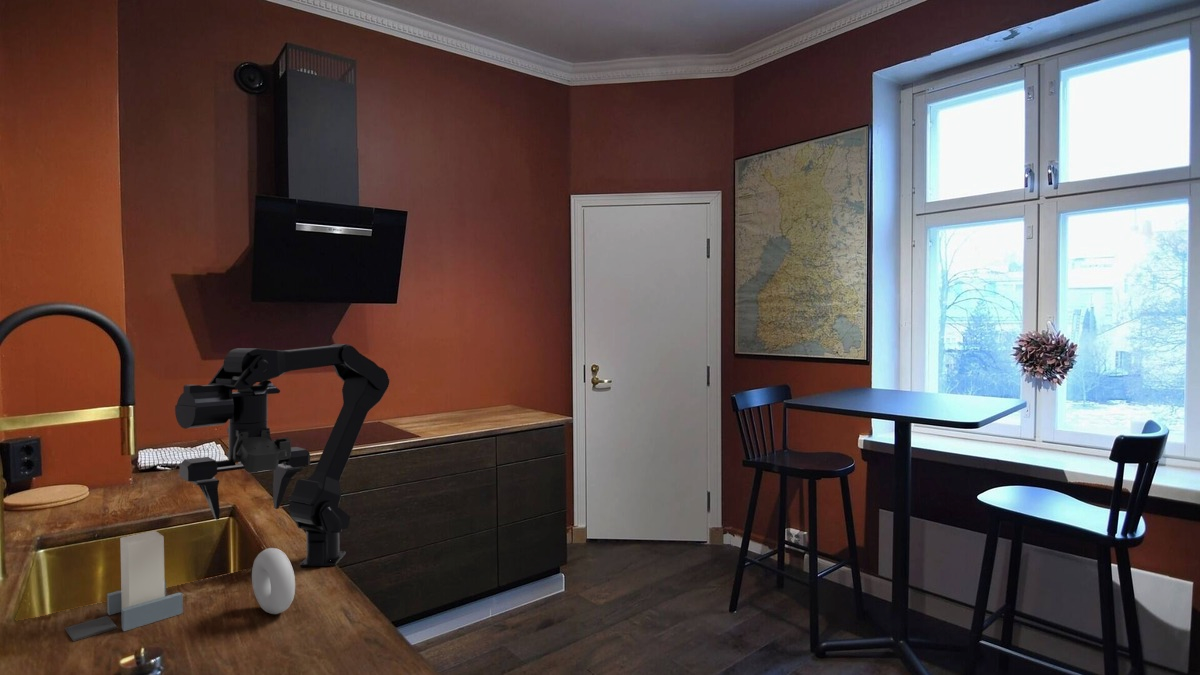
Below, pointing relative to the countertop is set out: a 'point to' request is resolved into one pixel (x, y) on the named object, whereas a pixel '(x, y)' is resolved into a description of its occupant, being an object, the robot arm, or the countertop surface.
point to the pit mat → (90, 628)
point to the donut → (273, 580)
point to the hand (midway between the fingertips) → (247, 513)
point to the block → (142, 568)
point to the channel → (145, 609)
